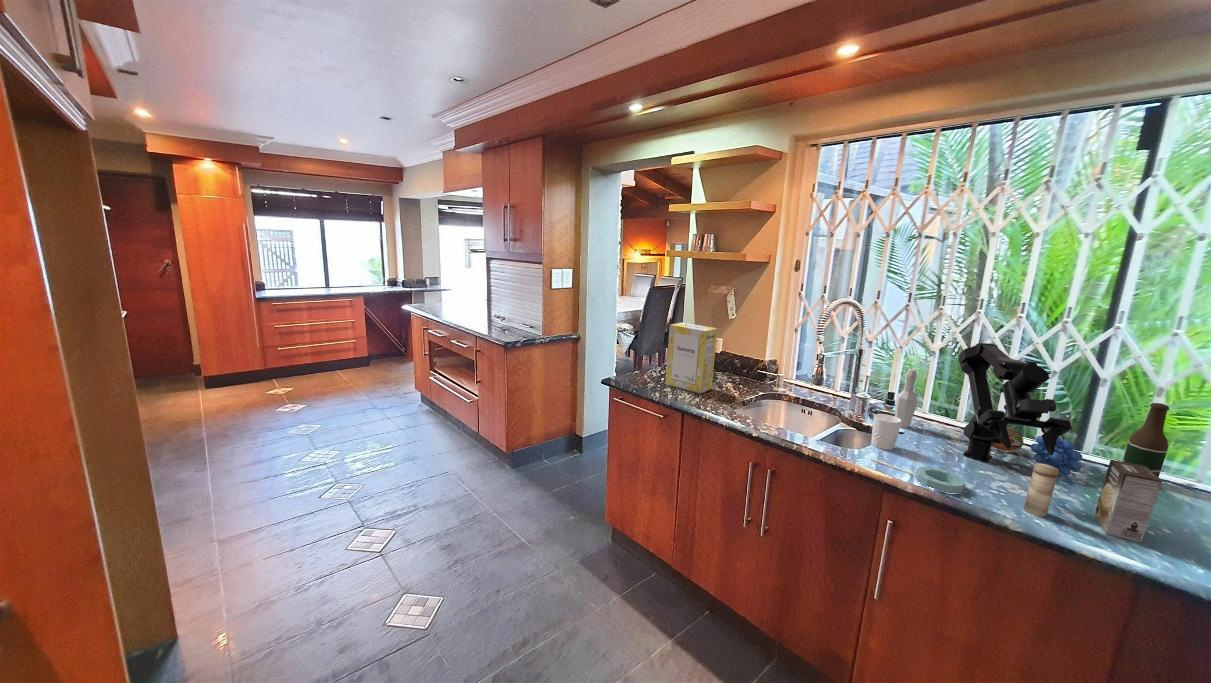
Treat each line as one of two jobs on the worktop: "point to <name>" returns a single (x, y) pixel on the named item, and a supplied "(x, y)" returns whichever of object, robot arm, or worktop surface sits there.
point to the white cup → (885, 431)
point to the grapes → (1058, 455)
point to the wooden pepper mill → (1040, 489)
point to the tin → (1011, 441)
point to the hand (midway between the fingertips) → (1030, 451)
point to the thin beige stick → (892, 466)
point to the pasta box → (691, 357)
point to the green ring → (952, 480)
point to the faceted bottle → (906, 400)
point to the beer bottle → (1149, 441)
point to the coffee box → (1127, 500)
